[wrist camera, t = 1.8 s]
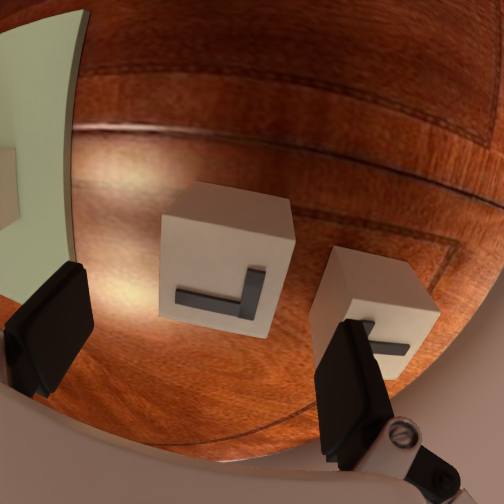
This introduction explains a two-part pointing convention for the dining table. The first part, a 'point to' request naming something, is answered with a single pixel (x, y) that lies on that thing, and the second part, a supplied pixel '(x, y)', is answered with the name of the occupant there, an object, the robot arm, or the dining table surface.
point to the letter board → (39, 146)
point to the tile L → (224, 258)
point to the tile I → (8, 188)
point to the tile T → (373, 307)
